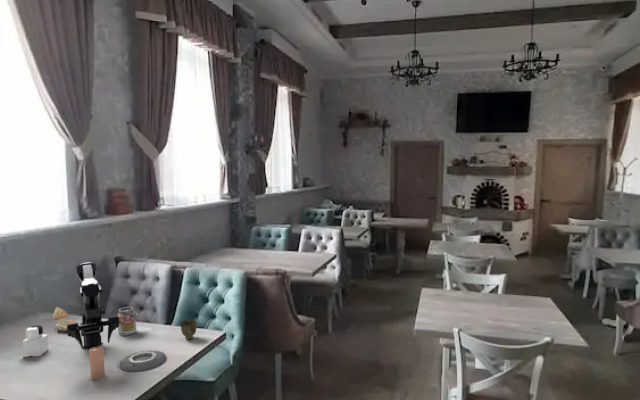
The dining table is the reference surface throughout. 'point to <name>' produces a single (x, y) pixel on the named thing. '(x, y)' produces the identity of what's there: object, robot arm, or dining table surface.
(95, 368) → the terracotta peg
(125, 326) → the decorated jar
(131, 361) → the metal collar
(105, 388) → the dining table surface
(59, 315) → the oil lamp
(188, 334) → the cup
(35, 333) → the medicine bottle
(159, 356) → the charcoal plate
